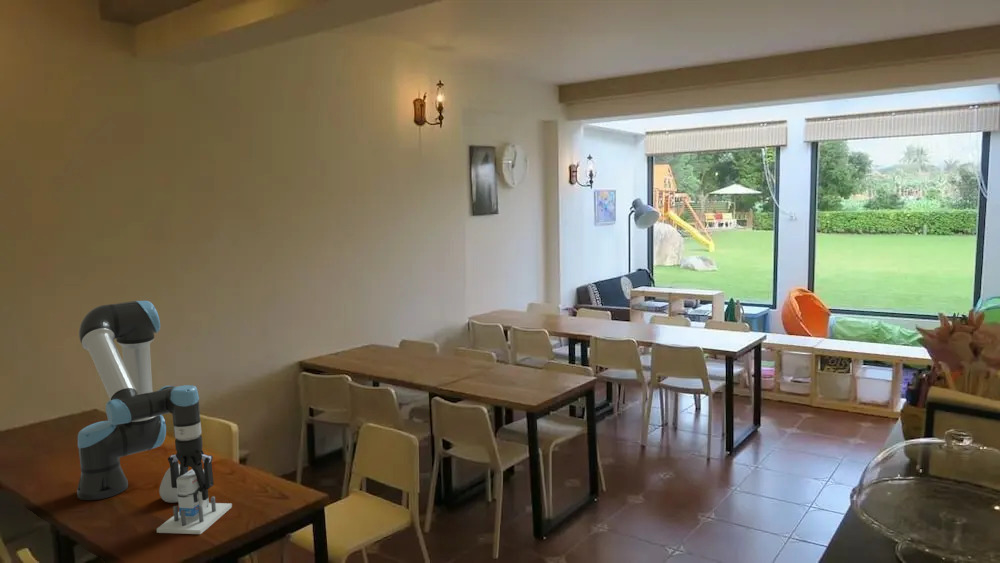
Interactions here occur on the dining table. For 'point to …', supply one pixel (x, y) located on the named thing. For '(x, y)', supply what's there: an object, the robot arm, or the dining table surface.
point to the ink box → (188, 493)
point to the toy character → (168, 488)
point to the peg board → (194, 519)
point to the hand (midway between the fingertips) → (194, 509)
